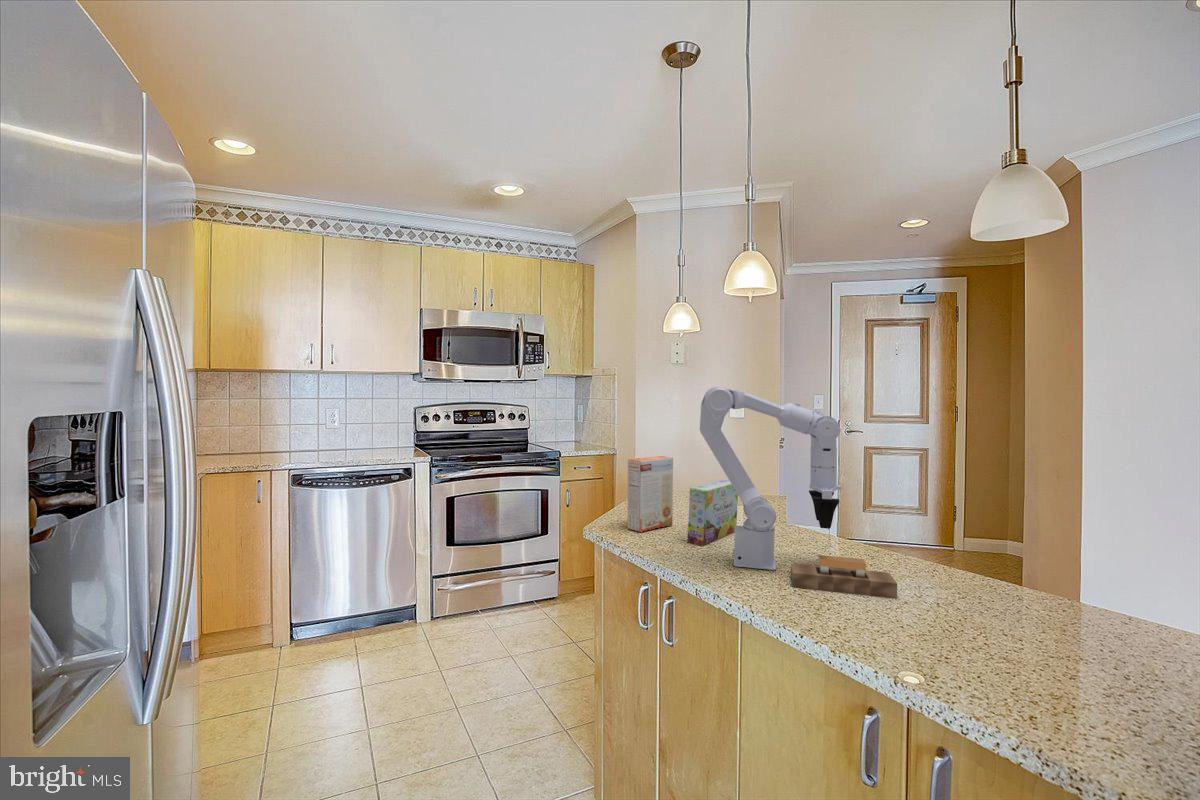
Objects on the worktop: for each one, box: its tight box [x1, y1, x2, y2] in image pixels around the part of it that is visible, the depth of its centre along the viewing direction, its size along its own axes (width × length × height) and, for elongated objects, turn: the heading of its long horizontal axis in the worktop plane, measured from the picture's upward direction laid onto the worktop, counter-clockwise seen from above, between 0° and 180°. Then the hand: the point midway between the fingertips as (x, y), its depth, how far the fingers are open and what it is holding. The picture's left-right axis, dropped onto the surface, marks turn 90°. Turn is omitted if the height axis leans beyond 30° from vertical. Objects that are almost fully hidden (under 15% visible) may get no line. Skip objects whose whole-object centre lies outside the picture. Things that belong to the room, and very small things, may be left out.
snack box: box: [687, 479, 739, 547], centre depth 157 cm, size 21×6×15 cm, turn 143°
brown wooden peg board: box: [790, 562, 898, 599], centre depth 118 cm, size 20×7×3 cm, turn 74°
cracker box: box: [627, 455, 674, 533], centre depth 166 cm, size 14×6×21 cm, turn 130°
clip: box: [817, 554, 867, 578], centre depth 118 cm, size 9×3×6 cm, turn 74°
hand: (823, 524), depth 131 cm, fingers open, 7 cm apart
